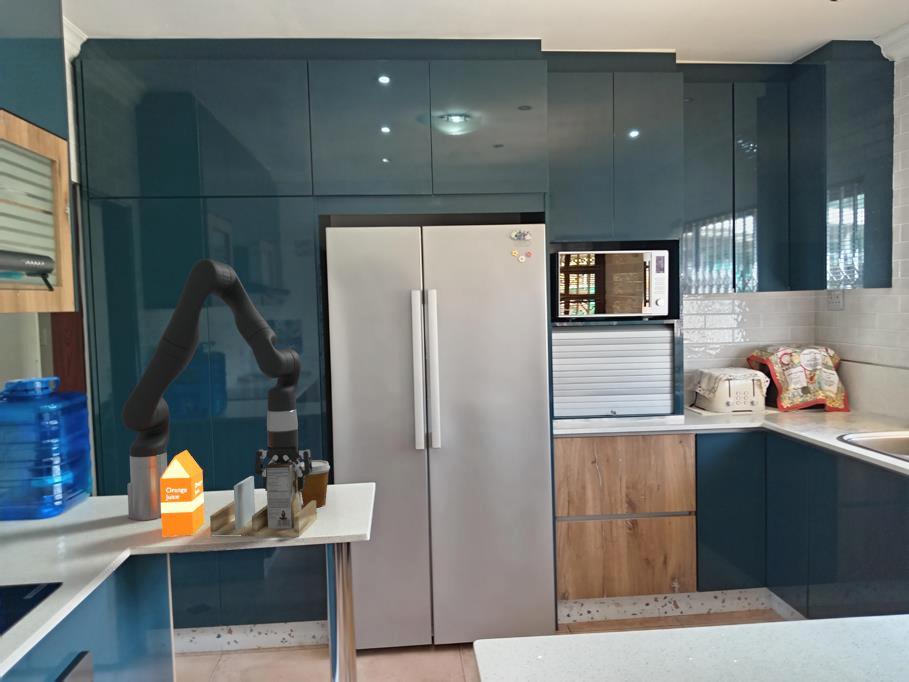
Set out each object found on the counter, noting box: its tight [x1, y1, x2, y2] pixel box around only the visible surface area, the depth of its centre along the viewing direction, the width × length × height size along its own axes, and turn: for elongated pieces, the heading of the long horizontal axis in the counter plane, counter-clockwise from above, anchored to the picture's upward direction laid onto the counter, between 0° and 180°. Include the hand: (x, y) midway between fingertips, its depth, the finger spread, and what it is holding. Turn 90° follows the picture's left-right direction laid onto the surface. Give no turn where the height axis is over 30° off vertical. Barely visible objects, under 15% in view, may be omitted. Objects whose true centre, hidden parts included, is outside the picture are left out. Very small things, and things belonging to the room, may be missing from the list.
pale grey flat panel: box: [233, 475, 256, 530], centre depth 166 cm, size 1×10×11 cm, turn 174°
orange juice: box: [160, 449, 205, 537], centre depth 165 cm, size 8×9×20 cm
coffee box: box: [265, 457, 303, 529], centre depth 165 cm, size 9×6×16 cm
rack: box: [209, 500, 318, 538], centre depth 166 cm, size 23×14×5 cm, turn 85°
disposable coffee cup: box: [300, 459, 331, 508], centre depth 185 cm, size 10×10×12 cm
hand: (284, 490), depth 165 cm, fingers open, 8 cm apart
